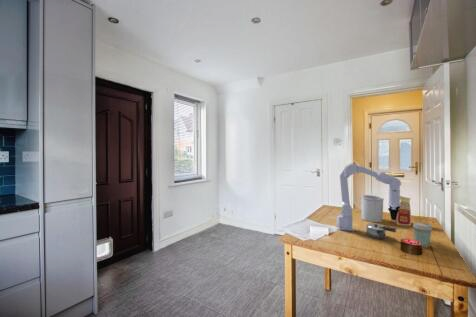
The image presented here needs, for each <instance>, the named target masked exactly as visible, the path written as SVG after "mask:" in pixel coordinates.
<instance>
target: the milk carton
mask: <svg viewBox="0 0 476 317" xmlns="http://www.w3.org/2000/svg"><path fill="white" fill-rule="evenodd" d="M411 198H412V197H406V196H402V195H400V204H402V206H400V207H399V209H398V210H399V212H398V214H397V218H396V220H394V222H395V224H396V225H397V226H408V227H409V226H412V212H411V210H412V209H411V204H410V201H411Z"/></svg>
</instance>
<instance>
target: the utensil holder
mask: <svg viewBox="0 0 476 317" xmlns="http://www.w3.org/2000/svg"><path fill="white" fill-rule="evenodd" d="M360 199H361V209H360V210H361V219H362V220H363V221H367V222H371V223H382V222H383V213H384V199H385V198H384V197H382V196H380V195H374V194H373V195H372V194H362V195H361V198H360Z"/></svg>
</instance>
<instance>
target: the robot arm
mask: <svg viewBox="0 0 476 317" xmlns="http://www.w3.org/2000/svg"><path fill="white" fill-rule="evenodd" d="M356 173H357V174H359V173H363V174H366V175H368V176H371V177H373V178H375V180H376V181H378V182H381V183H383V184H386V185H389V186H388V187H389V188H388V203H387V204H388V208H387V210H388V211H389V214H390V219H391V221H395V220H396V218H397V214H398V212H399V210H398V209H399V207H400V206H402V204H400V196H401V185H402V182H401V180H400V179H399V178H397V177H395V176H394V175H389V174H387V173H386V172H384V171H378V172H376V171H374V170H372V169H370V168H367V167H365V166H362V165H358V164H355V163H349V164H347V165H346V166H345V167H344V169H343V170H342V171H341V173H340V175H339V181H340V192H341V204H342V206H341V213H340V214H339V215H337V216H336V227H337V229H338V230H339V231H353V232H354V231H355V228H353V208H352V206H351V203H350V192H349V181H348V179H349V178H350V177H351V176H352V175H354V174H356Z"/></svg>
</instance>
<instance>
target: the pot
mask: <svg viewBox="0 0 476 317" xmlns="http://www.w3.org/2000/svg"><path fill="white" fill-rule="evenodd" d="M366 236H367V237H369V238H372V239H378V240H382V239H386V230H383V231H378V230H372V229H369V228H367V227H366Z"/></svg>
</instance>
